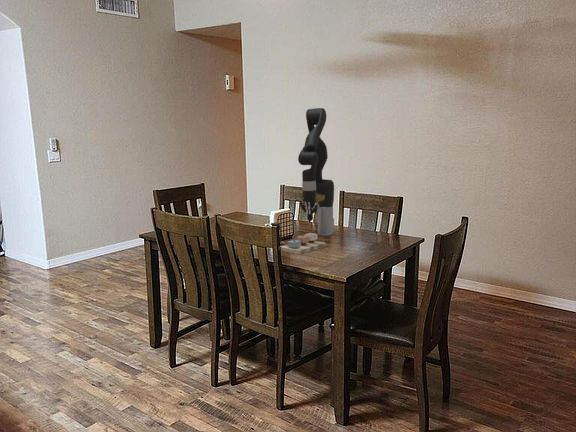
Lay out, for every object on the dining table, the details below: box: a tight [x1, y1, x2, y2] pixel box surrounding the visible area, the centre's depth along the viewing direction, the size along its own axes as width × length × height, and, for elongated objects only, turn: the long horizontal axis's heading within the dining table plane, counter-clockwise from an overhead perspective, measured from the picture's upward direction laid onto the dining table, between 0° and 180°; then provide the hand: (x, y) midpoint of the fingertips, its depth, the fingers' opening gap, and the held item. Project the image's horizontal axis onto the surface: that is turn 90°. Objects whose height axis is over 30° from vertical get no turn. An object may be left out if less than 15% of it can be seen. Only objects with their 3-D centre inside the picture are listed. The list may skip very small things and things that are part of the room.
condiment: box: [270, 221, 286, 246], centre depth 281 cm, size 7×8×12 cm
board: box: [280, 240, 327, 255], centre depth 270 cm, size 22×14×4 cm, turn 138°
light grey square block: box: [304, 232, 319, 241], centre depth 275 cm, size 5×5×3 cm
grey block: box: [287, 239, 301, 248], centre depth 265 cm, size 5×5×3 cm
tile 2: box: [295, 234, 309, 243], centre depth 270 cm, size 5×5×3 cm
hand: (310, 220), depth 273 cm, fingers closed
